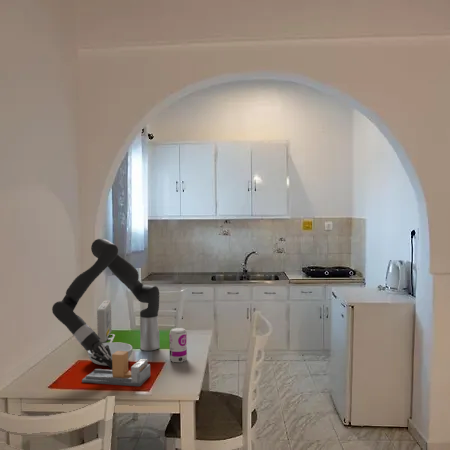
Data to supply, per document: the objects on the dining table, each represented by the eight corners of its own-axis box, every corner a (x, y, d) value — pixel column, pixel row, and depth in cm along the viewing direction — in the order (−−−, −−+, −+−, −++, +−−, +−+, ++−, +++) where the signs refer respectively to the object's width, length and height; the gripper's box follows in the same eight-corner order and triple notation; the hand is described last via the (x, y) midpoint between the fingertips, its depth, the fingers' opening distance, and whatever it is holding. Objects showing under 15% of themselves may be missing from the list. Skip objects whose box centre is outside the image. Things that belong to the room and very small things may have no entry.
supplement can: (190, 360, 218) (190, 329, 217) (177, 364, 211) (177, 332, 211) (179, 356, 223) (178, 326, 223) (166, 360, 217) (165, 329, 217)
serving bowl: (87, 372, 202) (86, 357, 202) (88, 357, 222) (88, 344, 222) (134, 367, 208) (133, 353, 208) (131, 354, 228) (131, 340, 228)
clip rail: (81, 382, 190) (81, 364, 190) (95, 372, 202) (95, 355, 202) (140, 386, 185) (139, 368, 185) (150, 375, 197) (150, 358, 197)
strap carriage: (112, 377, 191) (112, 354, 191) (117, 373, 196) (117, 350, 196) (139, 379, 189) (138, 355, 188) (143, 375, 194) (143, 352, 193)
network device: (101, 333, 266) (100, 300, 265) (116, 333, 267) (115, 299, 266) (93, 346, 241) (92, 309, 240) (110, 346, 242) (109, 309, 241)
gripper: (89, 338, 203) (114, 367, 200) (73, 347, 190) (100, 378, 188) (99, 327, 201) (125, 356, 199) (84, 335, 188) (112, 366, 186)
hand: (113, 366), depth 193 cm, fingers closed
